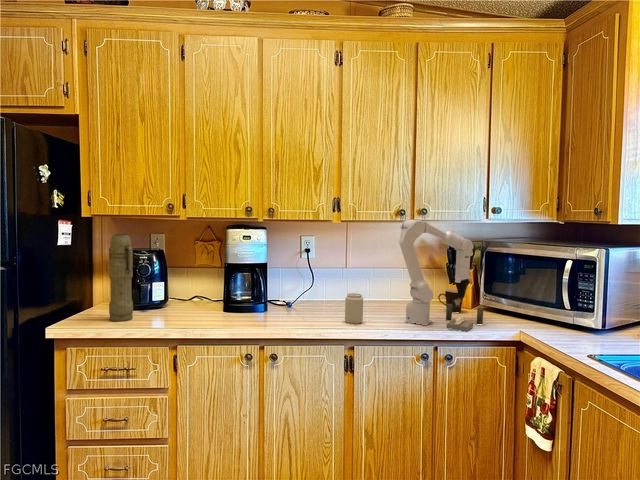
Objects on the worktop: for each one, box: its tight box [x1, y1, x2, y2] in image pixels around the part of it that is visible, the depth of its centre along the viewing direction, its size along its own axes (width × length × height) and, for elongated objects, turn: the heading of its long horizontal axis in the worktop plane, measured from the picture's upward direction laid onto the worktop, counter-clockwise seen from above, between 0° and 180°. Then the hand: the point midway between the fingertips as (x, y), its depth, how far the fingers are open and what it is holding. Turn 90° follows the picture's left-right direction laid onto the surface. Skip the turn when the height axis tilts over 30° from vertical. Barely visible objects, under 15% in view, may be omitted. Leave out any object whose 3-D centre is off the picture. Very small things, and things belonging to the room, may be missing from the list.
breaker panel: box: [446, 318, 474, 333], centre depth 180 cm, size 8×10×2 cm
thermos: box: [108, 233, 134, 323], centre depth 180 cm, size 9×12×35 cm
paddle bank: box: [455, 315, 466, 325], centre depth 179 cm, size 2×9×2 cm, turn 147°
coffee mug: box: [438, 288, 464, 312], centre depth 209 cm, size 12×9×10 cm
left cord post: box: [445, 304, 453, 321], centre depth 192 cm, size 2×2×7 cm
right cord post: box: [476, 307, 484, 325], centre depth 185 cm, size 2×2×7 cm
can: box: [344, 292, 364, 325], centre depth 184 cm, size 8×8×12 cm
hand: (461, 297), depth 191 cm, fingers closed
